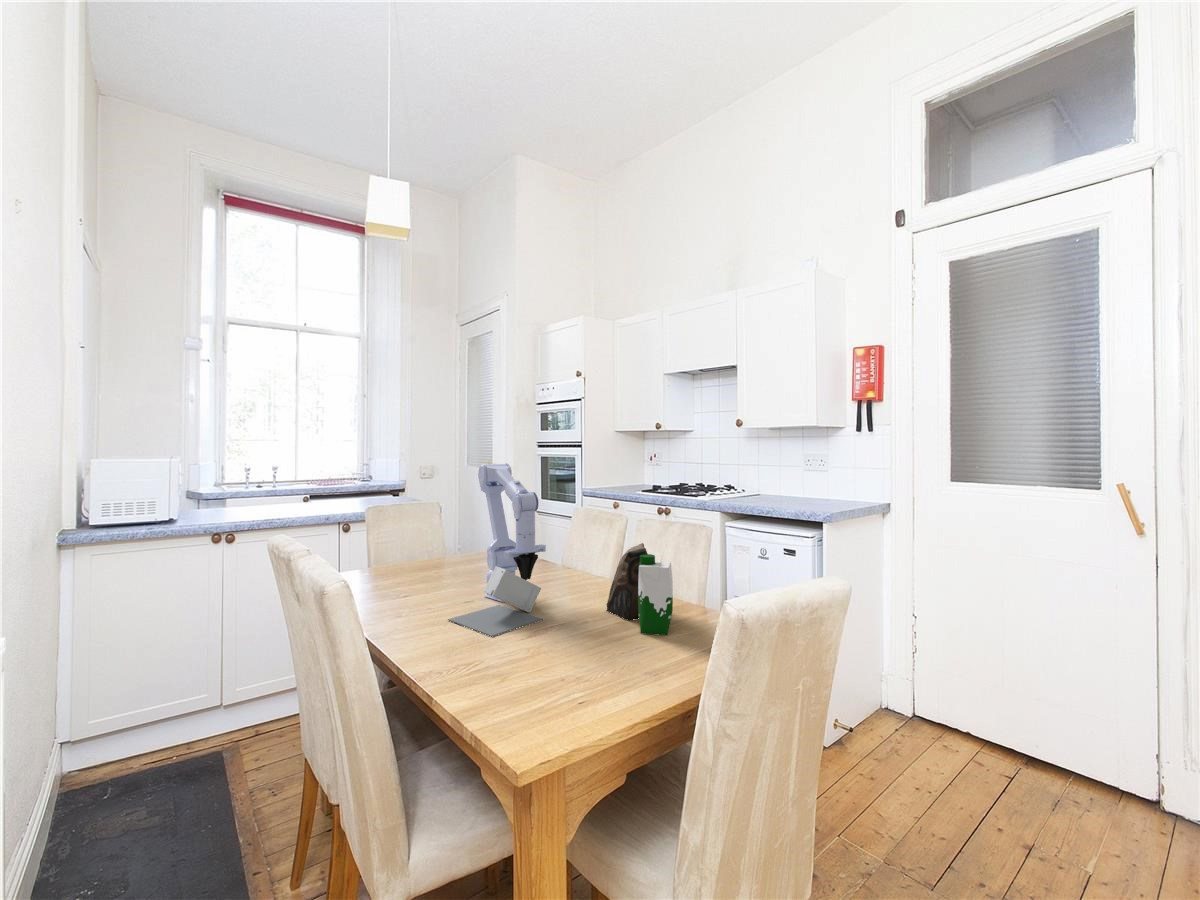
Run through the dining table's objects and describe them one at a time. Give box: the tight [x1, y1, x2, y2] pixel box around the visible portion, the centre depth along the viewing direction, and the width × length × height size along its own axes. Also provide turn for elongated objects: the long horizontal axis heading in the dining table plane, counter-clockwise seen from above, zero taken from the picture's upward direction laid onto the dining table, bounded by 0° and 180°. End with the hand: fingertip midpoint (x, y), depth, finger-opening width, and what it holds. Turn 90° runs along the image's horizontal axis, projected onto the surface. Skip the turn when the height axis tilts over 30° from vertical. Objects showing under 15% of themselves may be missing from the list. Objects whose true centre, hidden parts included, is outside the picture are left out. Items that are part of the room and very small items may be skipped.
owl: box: [606, 542, 649, 621], centre depth 161 cm, size 13×13×20 cm
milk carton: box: [638, 553, 674, 636], centre depth 148 cm, size 9×9×20 cm
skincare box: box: [483, 566, 542, 614], centre depth 162 cm, size 8×6×15 cm
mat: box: [447, 604, 544, 638], centre depth 156 cm, size 20×18×1 cm
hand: (525, 579), depth 165 cm, fingers closed
